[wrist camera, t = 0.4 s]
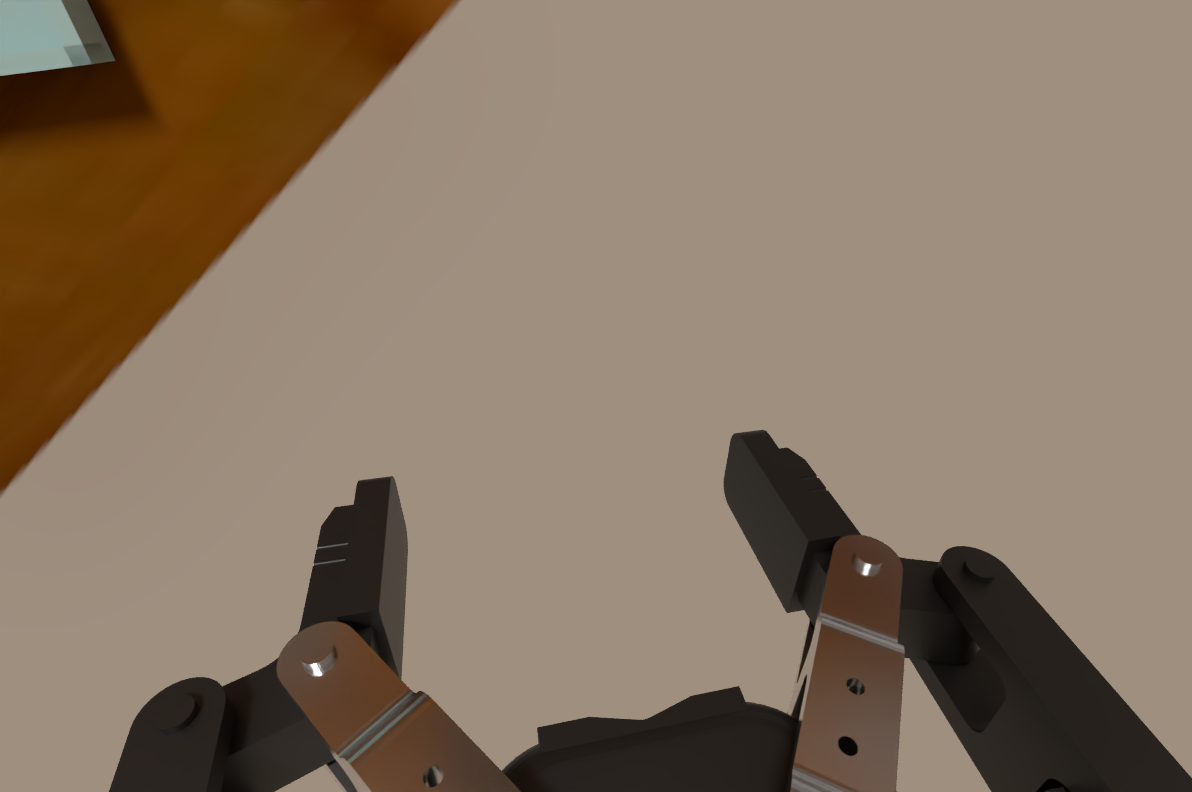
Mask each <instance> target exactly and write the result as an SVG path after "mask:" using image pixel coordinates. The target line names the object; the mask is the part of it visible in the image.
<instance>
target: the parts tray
mask: <svg viewBox="0 0 1192 792" xmlns="http://www.w3.org/2000/svg"><path fill="white" fill-rule="evenodd" d="M111 61H115V59H114V57H113V55H112V52H111V50H110V48H109V46H108V44H107V42H106V40H105V37H104V35H103V33H102V31H101V29H100V27H99V25H98V22H97V20H96V18H95V16H94V14H93V12H92V10H91V8H90V5H89V3H88V1H87V0H0V76H4V75H11V74H19V73H27V72H35V71H43V70H50V69H58V68H66V67H74V66H82V65H89V64H97V63H104V62H111Z"/></svg>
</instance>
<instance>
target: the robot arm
mask: <svg viewBox="0 0 1192 792" xmlns="http://www.w3.org/2000/svg"><path fill="white" fill-rule="evenodd" d="M724 492H725V497H726V500H727V503H728V505H729V507H730V509H731V511H732V513H733V515H734V516H735V518H736V520H737V522H738V524H739V526H740V527H741V529H742V531H743V533H744V535H745V537H746V539H747V540H748V542H749V544H750V546H751V548H752V549H753V551H754V553H755V555H756V557H757V559H758V561H759V563H760V564H761V566H762V568H763V570H764V572H765V574H766V575H767V577H768V579H769V581H770V583H771V585H772V587H773V588H774V590H775V592H776V594H777V596H778V597H779V599H780V601H781V603H782V605H783V607H784V609H785V611H786V612H787V613H790V612H795V611H801V610H805V612H806V614H807V615H808V617H809V622H808V625H807V629H806V634H805V638H804V643H803V647H802V652H801V657H800V661H799V666H798V670H797V675H796V679H795V684H794V689H793V693H792V697H791V701H790V705H789V708H788V712H787V714H786V713H784V712H782V711H779V710H777V709H775V708H772V707H769V706H766V705H761V704H756V703H751V702H745V700H744V697H743V695H742V693H741V690H740V688H739V686H738V687H733V688H728V689H723V690H718V691H713V692H709V693H704V694H699V695H694V696H690V697H689V698H687V699H685V700H683V701H681V702H679V703H677V704H675V705H673V706H671V707H669V708H668V709H666V710H664V711H662V712H660V713H658V714H656V715H654V716H652V717H650V718H648V719H645V720H631V719H614V718H598V717H587V718H582V719H577V720H572V721H568V722H562V723H558V724H553V725H548V726H543V727H538V728H537V731H538V743H539V744H537V745H535V746H533V747H531V748H529V749H528V750H526V751H525V752H523V753H522V754H520V755H519V756H517V757H516V758H515V759H514V760H513V761H512V762H510V763H509V764H508V765H507V766H506V767H505V768H504V769H503V770H502V771H501V770H500V769H499V768H498V767H497V766H496V765H495V764H494V763H493V762H492V761H491V760H490V759H489V758H488V757H487V756H486V755H485V753H484V752H483V751H481V749H480V748H479V747H478V746H477V745H476V744H475V743H474V742H473V741H472V740H471V739H470V738H469V737H468V736H467V735H466V734H465V733H464V732H463V731H462V729H461V728H460V727H458V726H457V724H456V723H455V722H454V721H453V720H452V719H451V718H450V717H449V716H448V715H447V714H446V713H445V712H444V711H443V710H442V709H441V708H440V707H439V706H438V705H437V703H436V702H434V701H433V700H432V699H431V698H430V697H429V696H428V695H427V694H425V693H424V692H422V691H419V692H417V693H414V692H413V691H412V690H410V689H409V688H408V687H407V686H406V684H405V683H404V682H403V681H402V680H401V676H402V674H401V673H402V656H403V635H404V615H405V596H406V576H407V556H408V542H407V531H406V525H405V520H404V516H403V512H402V508H401V504H400V499H399V495H398V491H397V486H396V483H395V479H394V477H393V476H391V477H383V478H376V479H368V480H361V481H358V483H357V487H356V494H355V500H354V505H349V506H341V507H335V508H334V510H333V511H332V512H331V514H330V515H329V516H328V518H327V519H326V520H325V522H324V523H323V525H322V526H321V530H320V535H319V540H318V544H317V548H318V549H317V550H316V554H315V559H314V566H313V569H312V573H311V578H310V583H309V588H308V593H307V598H306V603H305V607H304V612H303V617H302V622H301V626H300V630H299V632H298V634H297V635H295V636H294V637H293V638H292V639H291V640H290V641H289V642H288V643H287V644H286V646H285V647H284V648H283V650H282V652H281V654H280V656H279V658H277V659H276V660H275V661H274V662H272V663H270V664H269V665H267V666H266V667H264V668H262V669H260V670H258V671H256V672H254V673H251V674H249V675H247V676H245V677H242V678H240V679H238V680H236V681H234V682H231V683H229V684H227V685H225V686H223V687H222V686H221V685H220V684H219V683H218V682H217V681H215V680H213V679H210V678H204V677H196V678H189V679H186V680H182V681H179V682H177V683H175V684H172V685H171V686H169V687H167V688H165V689H164V690H162V691H161V692H159V693H158V694H157V695H156V696H154V697H153V698H152V699H151V700H150V701H149V702H148V703H147V704H146V705H145V706H144V707H143V708H142V709H141V711H140V712H139V713H138V715H137V716H136V718H135V720H134V721H133V724H132V726H131V728H130V731H129V734H128V737H127V740H126V743H125V746H124V749H123V752H122V755H121V758H120V761H119V764H118V767H117V770H116V773H115V776H114V779H113V782H112V784H111V787H110V790H109V792H275V791H276V790H278V789H280V788H282V787H284V786H286V785H288V784H290V783H291V782H293V781H295V780H297V779H299V778H301V777H303V776H304V775H306V774H308V773H310V772H312V771H314V770H316V769H318V768H319V767H321V766H323V765H324V766H325V768H326V769H327V770H328V772H329V773H330V774H331V775H332V777H333V778H334V780H335V781H336V782H337V784H338V785H339V786H340V788H341V789H342V790H343V792H896V780H897V766H898V765H897V764H898V749H899V735H900V720H901V719H900V718H901V704H902V689H903V688H902V687H903V673H904V658H910V660H911V662H912V663H913V665H914V666H915V668H916V670H917V671H918V673H919V675H920V676H921V678H922V680H923V681H924V683H925V684H926V686H927V688H928V689H929V691H930V693H931V694H932V696H933V697H934V699H935V701H936V702H937V704H938V705H939V707H940V709H941V710H942V712H943V714H944V715H945V717H946V719H947V720H948V722H949V723H950V725H951V726H952V728H953V730H954V732H955V733H956V735H957V736H958V738H959V740H960V741H961V743H962V744H963V746H964V748H965V749H966V751H967V753H968V754H969V756H970V757H971V759H972V761H973V762H974V764H975V766H976V767H977V769H978V770H979V772H980V774H981V775H982V777H983V779H984V780H985V782H986V784H987V785H988V787H989V788H990V790H991V791H992V792H1192V778H1191V777H1190V776H1189V775H1188V773H1187V772H1186V771H1185V770H1184V769H1183V768H1182V766H1180V764H1179V763H1178V762H1177V761H1176V760H1175V759H1174V757H1173V756H1172V755H1171V754H1170V753H1169V752H1168V750H1167V749H1166V748H1165V747H1164V746H1163V745H1162V744H1161V742H1160V741H1159V740H1158V739H1157V738H1156V737H1155V736H1154V734H1153V733H1152V732H1151V731H1150V730H1149V729H1148V728H1147V726H1146V725H1145V724H1144V723H1143V722H1142V721H1141V720H1140V719H1139V717H1138V716H1137V715H1136V714H1135V713H1134V712H1133V710H1132V709H1131V708H1130V707H1129V706H1128V705H1127V704H1126V702H1125V701H1124V700H1123V699H1122V698H1121V697H1120V695H1119V694H1118V693H1117V692H1116V691H1115V690H1114V689H1113V688H1112V686H1111V685H1110V684H1109V683H1108V682H1107V681H1106V679H1105V678H1104V677H1103V676H1102V675H1101V674H1100V673H1099V671H1098V670H1097V669H1096V668H1095V667H1094V666H1093V665H1092V663H1091V662H1090V661H1089V660H1088V659H1087V658H1086V657H1085V655H1084V654H1083V653H1082V652H1081V651H1080V650H1079V649H1078V648H1077V646H1076V645H1075V644H1074V643H1073V642H1072V641H1071V639H1070V638H1069V637H1068V636H1067V635H1066V634H1065V633H1064V631H1063V630H1062V629H1061V628H1060V627H1059V626H1058V625H1057V623H1056V622H1055V621H1054V620H1053V619H1052V618H1051V617H1050V615H1049V614H1048V613H1047V612H1046V611H1045V610H1044V608H1043V607H1042V606H1041V605H1040V604H1039V603H1038V602H1037V600H1035V598H1034V597H1033V596H1032V595H1031V594H1030V593H1029V591H1028V590H1027V589H1026V588H1025V587H1024V586H1023V585H1022V583H1021V582H1020V581H1019V580H1018V579H1017V578H1016V576H1015V575H1014V574H1013V573H1012V572H1011V571H1010V570H1009V569H1008V567H1007V566H1006V565H1005V564H1004V563H1002V562H1001V561H1000V560H999V559H997V558H996V557H994V556H992V555H991V554H989V553H987V552H984V551H982V550H979V549H976V548H972V547H965V546H957V547H952V548H950V549H948V550H946V551H945V552H944V553H943V555H942V557H941V559H940V561H939V562H932V561H923V560H914V559H905V558H900V557H898V555H897V554H896V553H895V552H894V551H893V550H892V549H891V548H890V547H889V546H887V545H886V544H884V543H883V542H881V541H879V540H877V539H874V538H872V537H868V536H864V535H861V534H860V533H859V531H858V530H857V529H856V527H855V526H854V525H853V523H852V522H851V521H850V519H849V518H848V517H847V515H846V514H845V513H844V511H843V510H842V509H841V507H840V506H839V505H838V503H837V502H836V500H835V499H834V498H833V496H832V495H831V494H830V492H829V491H826V487H825V486H824V484H823V483H822V482H821V480H820V479H819V478H817V477H816V474H815V473H814V471H813V470H812V468H811V467H810V466H809V464H808V463H807V462H806V460H805V459H803V458H802V457H800V456H799V455H797V454H796V453H794V452H793V451H792V450H790V449H789V448H781V449H779V448H778V447H777V445H776V444H775V442H774V441H773V439H772V438H771V437H770V435H769V434H768V433H767V432H766V431H764V430H759V431H751V432H742V433H736V434H733V436H732V438H731V441H730V447H729V453H728V459H727V464H726V470H725V476H724Z"/></svg>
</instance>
